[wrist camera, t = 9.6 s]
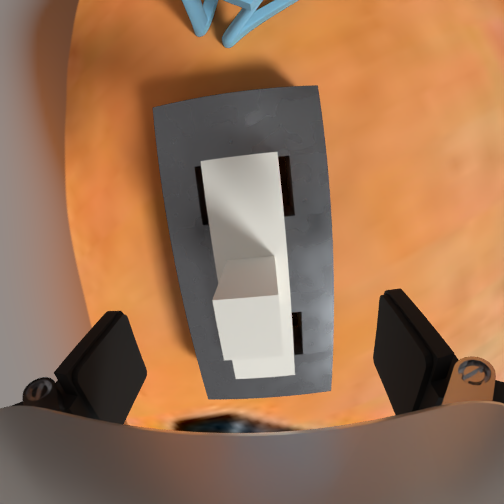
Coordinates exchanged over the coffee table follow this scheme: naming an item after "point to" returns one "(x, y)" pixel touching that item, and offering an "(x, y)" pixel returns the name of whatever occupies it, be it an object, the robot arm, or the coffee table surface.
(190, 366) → the coffee table surface
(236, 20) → the chair
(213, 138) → the slotted plate
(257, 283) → the white stepped block
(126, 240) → the coffee table surface
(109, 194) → the coffee table surface
